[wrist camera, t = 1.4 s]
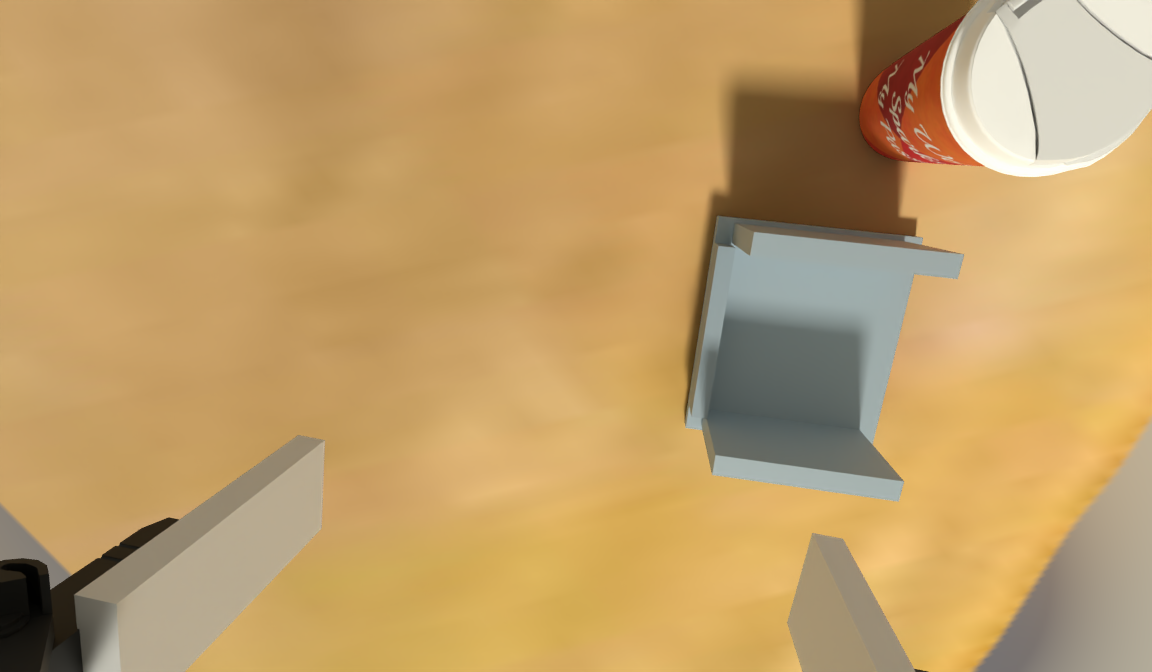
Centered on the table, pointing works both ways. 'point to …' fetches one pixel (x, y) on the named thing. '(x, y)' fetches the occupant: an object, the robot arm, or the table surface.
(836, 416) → the holder
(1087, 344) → the table surface
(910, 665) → the robot arm
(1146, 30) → the paper cup
